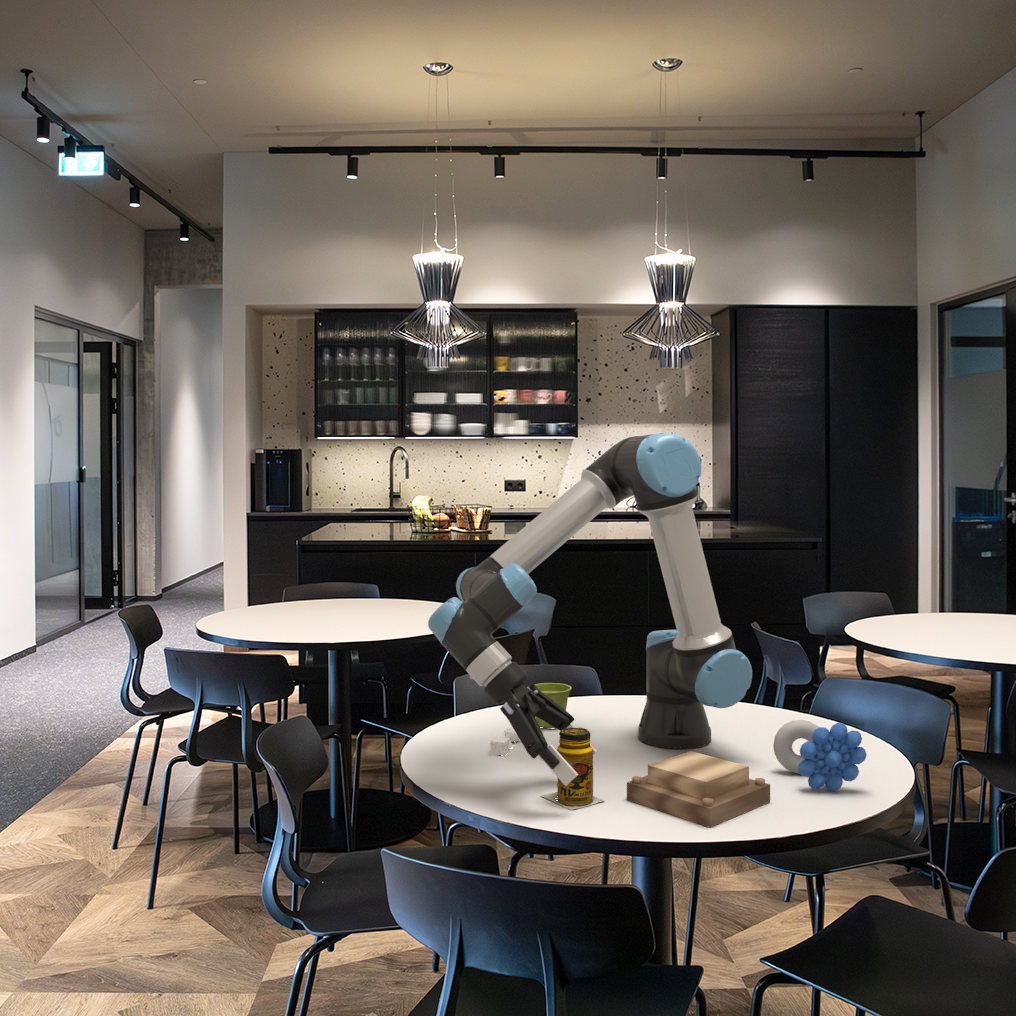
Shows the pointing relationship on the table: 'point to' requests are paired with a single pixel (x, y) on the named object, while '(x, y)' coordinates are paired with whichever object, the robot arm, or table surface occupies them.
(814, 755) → the blue sphere flower
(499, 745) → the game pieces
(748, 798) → the wooden riser
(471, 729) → the table surface
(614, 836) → the table surface
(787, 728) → the donut
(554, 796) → the condiment
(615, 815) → the table surface
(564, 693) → the plant pot
